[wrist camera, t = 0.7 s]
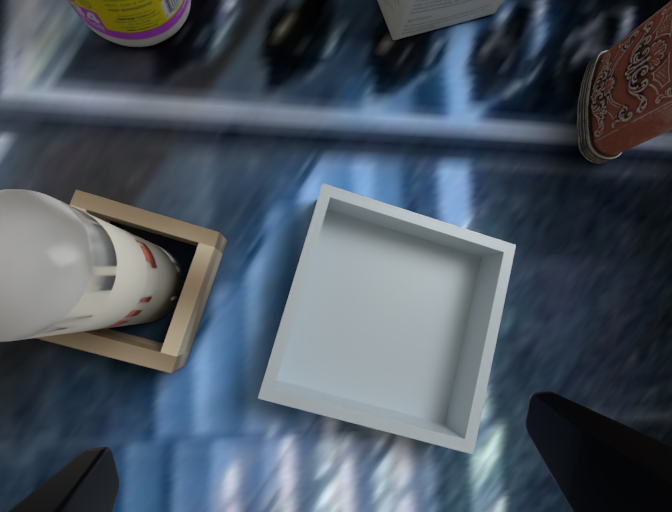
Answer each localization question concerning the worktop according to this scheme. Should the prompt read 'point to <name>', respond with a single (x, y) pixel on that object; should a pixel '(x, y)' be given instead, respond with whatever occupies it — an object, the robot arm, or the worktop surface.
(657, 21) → the lighter
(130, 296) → the white domed canister
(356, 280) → the tray
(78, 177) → the worktop surface
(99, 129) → the worktop surface
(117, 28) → the supplement bottle
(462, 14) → the skincare box
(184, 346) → the holder
